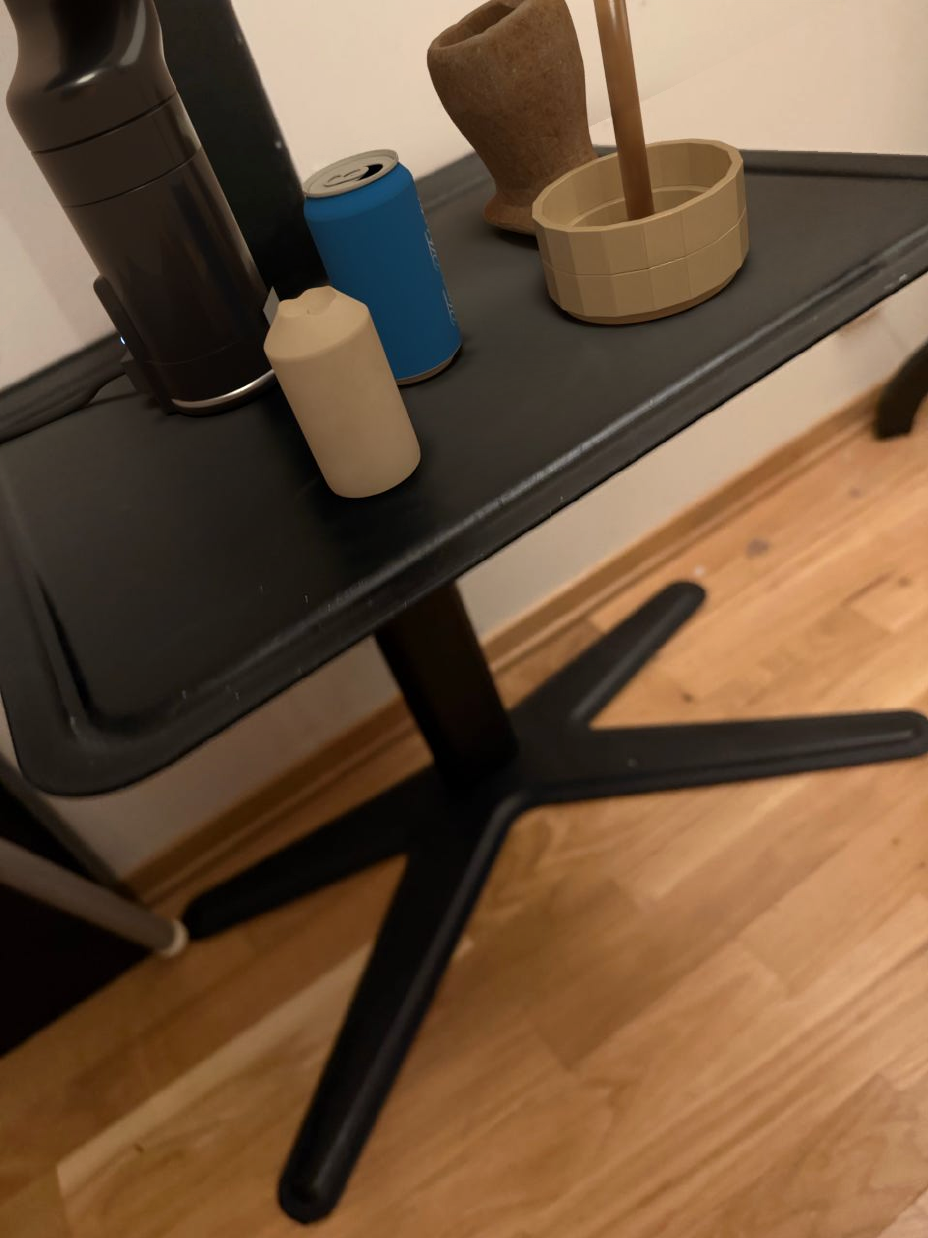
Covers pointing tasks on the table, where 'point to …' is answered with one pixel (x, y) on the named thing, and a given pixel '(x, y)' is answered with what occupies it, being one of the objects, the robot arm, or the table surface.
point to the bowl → (644, 233)
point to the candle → (342, 392)
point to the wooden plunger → (625, 107)
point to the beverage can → (384, 258)
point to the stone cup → (516, 98)
